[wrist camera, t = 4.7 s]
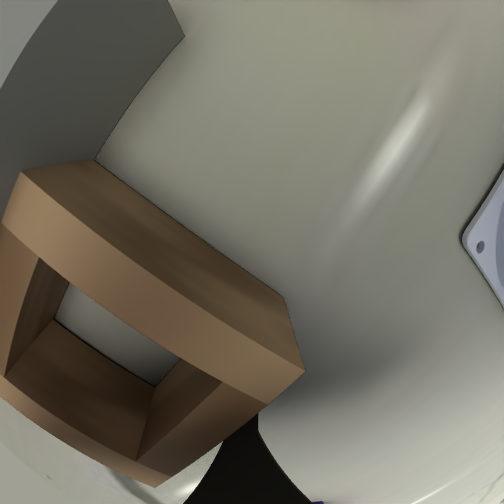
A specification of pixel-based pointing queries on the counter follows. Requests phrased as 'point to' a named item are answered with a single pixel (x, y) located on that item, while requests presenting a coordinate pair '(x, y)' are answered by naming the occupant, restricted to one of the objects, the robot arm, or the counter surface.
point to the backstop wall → (72, 76)
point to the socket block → (132, 325)
